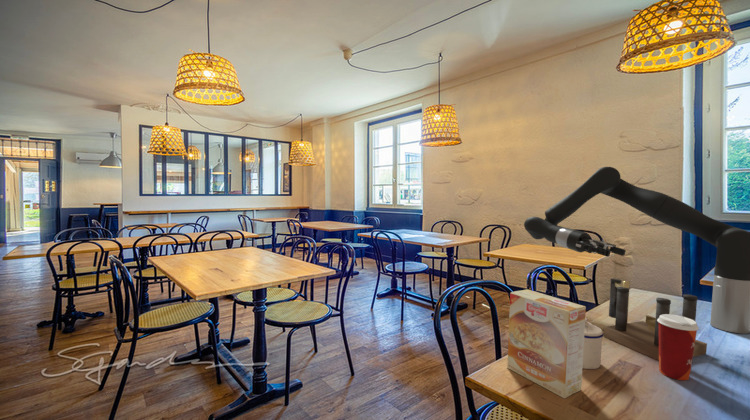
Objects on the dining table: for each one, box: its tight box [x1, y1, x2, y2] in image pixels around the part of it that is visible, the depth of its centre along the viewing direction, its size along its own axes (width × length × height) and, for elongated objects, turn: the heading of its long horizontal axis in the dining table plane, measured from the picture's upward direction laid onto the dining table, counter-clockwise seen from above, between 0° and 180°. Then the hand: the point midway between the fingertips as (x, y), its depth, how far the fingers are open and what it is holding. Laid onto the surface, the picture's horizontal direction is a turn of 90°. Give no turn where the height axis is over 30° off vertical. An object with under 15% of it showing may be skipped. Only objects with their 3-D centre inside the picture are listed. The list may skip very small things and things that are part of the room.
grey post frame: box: [608, 278, 631, 321], centre depth 110 cm, size 10×3×14 cm, turn 163°
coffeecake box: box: [506, 288, 587, 399], centre depth 81 cm, size 15×7×20 cm, turn 31°
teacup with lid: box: [582, 317, 604, 370], centre depth 91 cm, size 12×9×12 cm
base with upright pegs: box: [603, 287, 708, 361], centre depth 101 cm, size 17×17×16 cm
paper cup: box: [657, 313, 700, 382], centre depth 84 cm, size 8×8×14 cm
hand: (617, 253), depth 115 cm, fingers open, 8 cm apart
